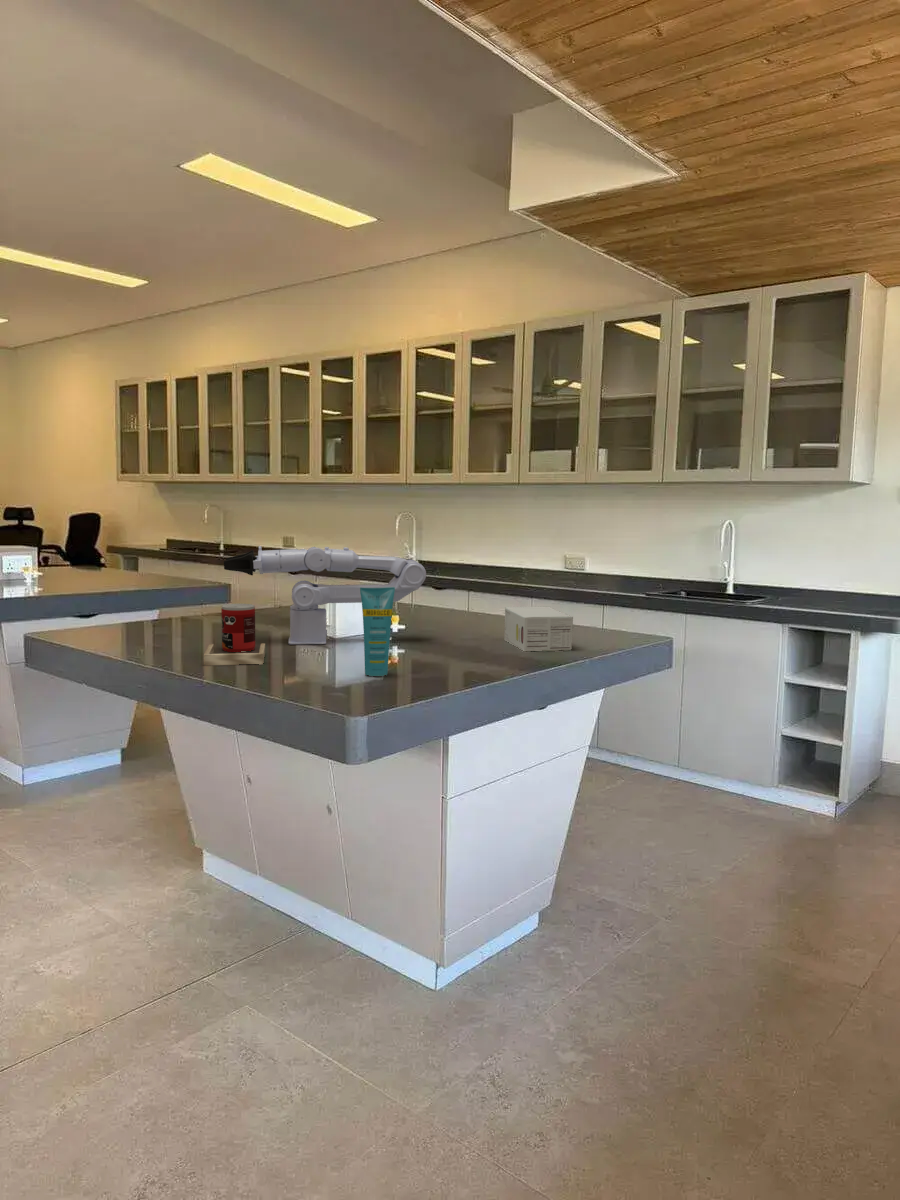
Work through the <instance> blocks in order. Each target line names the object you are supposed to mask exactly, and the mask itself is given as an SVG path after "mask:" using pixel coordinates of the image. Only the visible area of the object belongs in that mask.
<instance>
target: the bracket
mask: <svg viewBox="0 0 900 1200" xmlns="http://www.w3.org/2000/svg"><path fill="white" fill-rule="evenodd" d="M214 647H215V644H214V643H209V644H208V646H207V648H206V650H205V651H204V654H203V666H240V665H239V664H259V665H264V664H263V663H264V662H265V658H266V657H265V656H266V643H260V646H259V652H254V653H251V652H250V653H249V652H241V653H215V648H214ZM264 657H265V658H264Z"/></svg>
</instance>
